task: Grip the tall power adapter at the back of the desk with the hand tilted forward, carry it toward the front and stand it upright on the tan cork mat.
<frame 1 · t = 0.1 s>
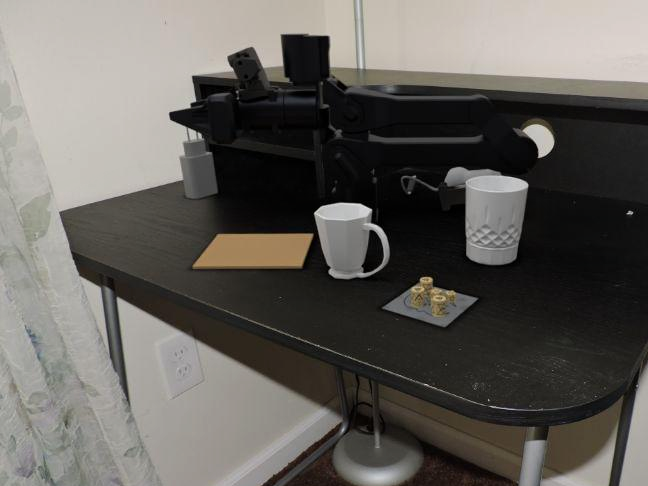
hand: (180, 111, 83), 17 cm above the table, tool horizontal, fingers open, 9 cm apart
white cup: (491, 257, 77), on the table
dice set: (430, 304, 64), on the table
clip-on lamp: (445, 201, 100), on the table
power adapter: (202, 195, 103), on the table
cork mat: (257, 251, 78), on the table
cup: (355, 276, 71), on the table
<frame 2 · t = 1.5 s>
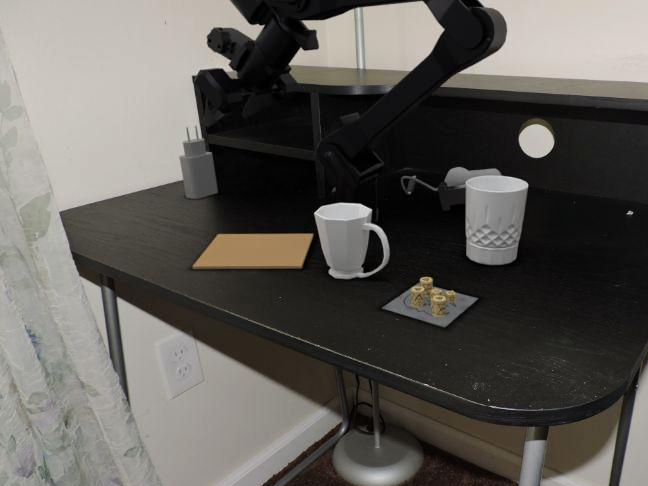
hand: (225, 120, 94), 14 cm above the table, tool tilted 45°, fingers open, 9 cm apart
nothing on the table moved.
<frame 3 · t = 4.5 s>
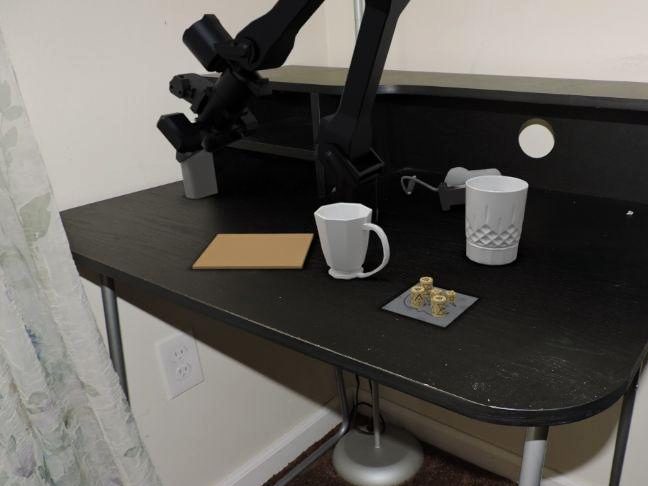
hand: (190, 157, 101), 7 cm above the table, tool tilted 45°, fingers closed on power adapter, 5 cm apart
power adapter: (202, 195, 103), on the table, touching gripper
everything else where it was.
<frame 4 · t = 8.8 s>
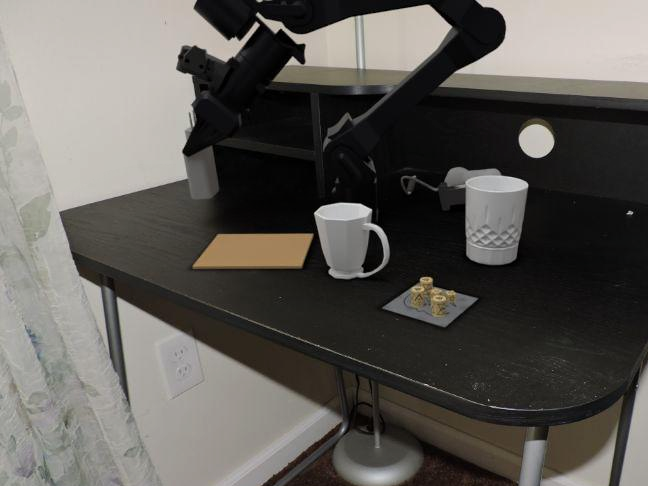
hand: (188, 150, 83), 12 cm above the table, tool tilted 45°, fingers closed on power adapter, 5 cm apart
power adapter: (205, 195, 86), point 5 cm above the table, touching gripper
everything else where it was.
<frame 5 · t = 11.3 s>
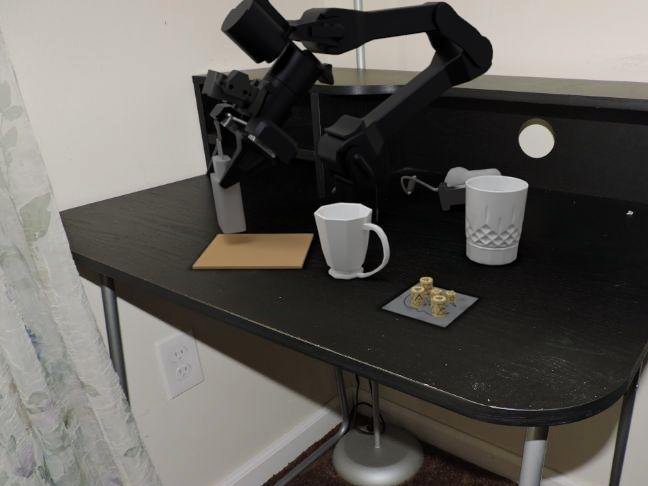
hand: (215, 182, 76), 9 cm above the table, tool tilted 45°, fingers closed on power adapter, 5 cm apart
power adapter: (232, 227, 80), point 2 cm above the table, touching gripper
everything else where it was.
when the fingers open (7 cm above the table, at t = 13.0 s): power adapter stays where it is, resting on cork mat.
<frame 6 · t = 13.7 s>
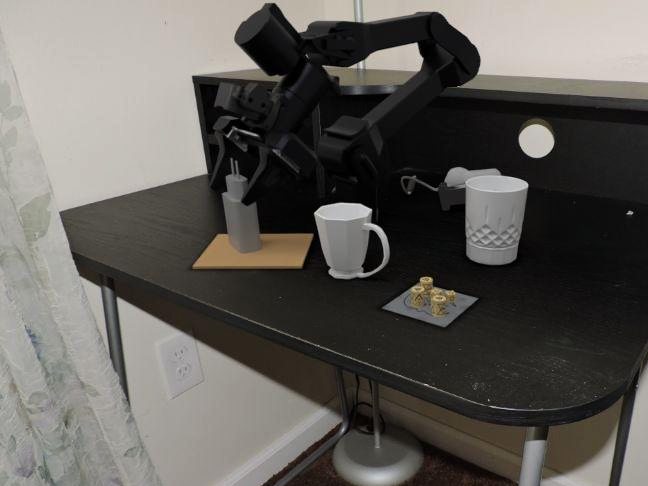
hand: (227, 196, 75), 8 cm above the table, tool tilted 45°, fingers open, 9 cm apart
power adapter: (245, 247, 79), resting on cork mat
everything else where it was.
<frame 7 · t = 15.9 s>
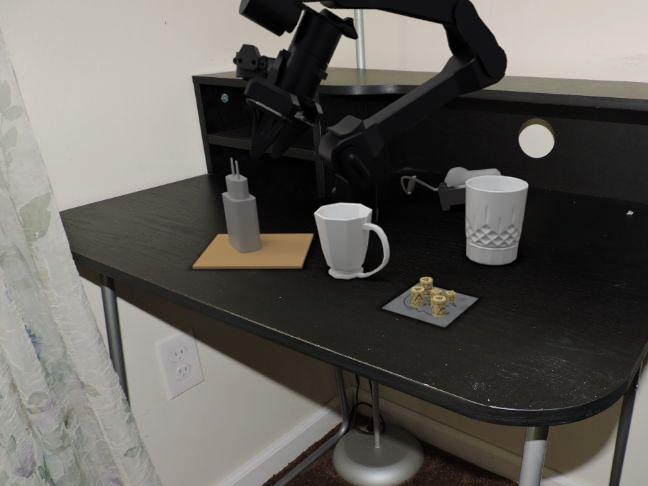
hand: (263, 158, 82), 11 cm above the table, tool tilted 30°, fingers open, 9 cm apart
nothing on the table moved.
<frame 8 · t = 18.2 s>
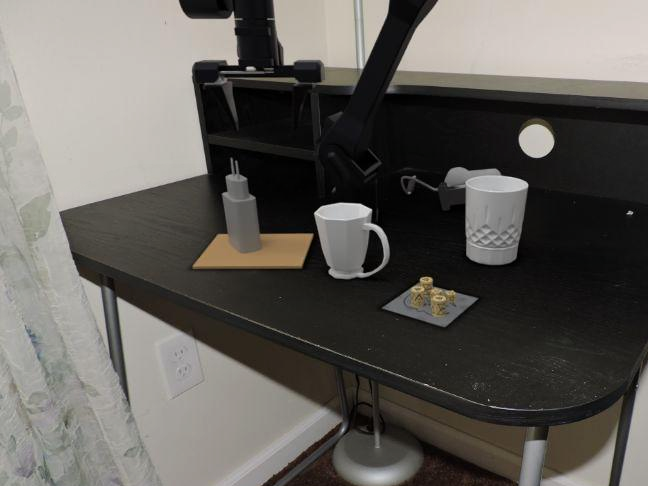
hand: (266, 130, 89), 13 cm above the table, tool pointing down, fingers open, 9 cm apart
nothing on the table moved.
at the end: power adapter inside the target area on the cork mat (2.2 cm from its centre), point 0.2 cm above the cork mat's base; power adapter tilted 0°; the gripper is holding nothing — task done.
